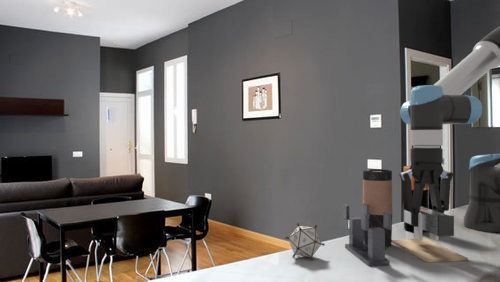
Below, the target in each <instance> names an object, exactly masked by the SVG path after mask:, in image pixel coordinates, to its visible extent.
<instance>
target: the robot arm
mask: <svg viewBox="0 0 500 282" xmlns="http://www.w3.org/2000/svg"><path fill="white" fill-rule="evenodd" d="M499 67H500V26H497V28H496V27H495V28H494V29H493V30H492V31H490V32H489V33H488V34H486V35H485V36H484V37H482V39H480V40H479V41H478V42H477V43H476V44H475V45H474V47H473V48H472V51H471V53H469V54H468V55H467V56H466V57H465V58H463V59H461V61H460V62H459V63H458V64H456V65H455V66H454V67H453V68H452V69H451V70H449V71H448V72H447V73H446V74H445V75H444V76H442V77H441V78H440V79H438V81H436V82H435V83H434V84H429V85H428V84H427V85H417V86H415V87H413V88H412V89H411V91H410V100H408V101H406V102H404V103H403V104H402V106H401V107H400V111H399V112H400V118H401V120H402V121H403V123H405V124H407V125H408V126H410V146H412V147H411V148H410V153H409V155H410V165H409V166H410V168H409V170H408V171H406V172H404V171H403V172H400V173H399V178H400V179H401V182H402V183H401V185H402V186H401V187H402V188H401V189H402V203H403V204H402V208H403V207H404V210H406V211H409V212H410V213H411V224H412V226H414V231H413V239H417V240H420V241H421V240H422V239H423V232H422V214H419V212H420V207H421V201H422V195H423V190H424V188H425V185H426V184H427V185H428V187H429V197H430V202H431V208H432V209H431V210H434V211H437V212H440V213H443V214H445V212H447V211H448V212H449V211H450V200H451V199H450V198H451V182H452V179H453V177H454V172H451V171H448V170H445V169H444V167H443V165H442V163H443V159H444V157H443V156H444V155H443V151H444V150H443V148H442V146H443V145H444V139H443V138H444V135H443V134H444V132H443V131H444V129H443V128H444V127H443V126H444V125H467V124H468V125H469V124H470V125H471V124H474V123H476V122H477V121H479V119H480V118H481V116H482V114H483V104H482V102H481V100H480V99H479V98H478V97H476V96H474V95H467V94H464V93H465V92H466V91H468V89H469V88H471V87H473V85H474V84H476V82H478V81H479V79H481V78H482V77H483V76H484V75H485V74H487V73H488V72H489V71H490V70H491V69H496V68H499ZM463 94H464V95H463ZM468 170H469V171H468V175H469V176H468V177H469V178H468V179H469V181H468V182H469V185H468V186H469V202H468V205H467V208H466V210H465V214H464V216H463V226H465V227H467V228H469V229H473V230H477V231H484V232H492V233H500V153H491V154H490V153H489V154H479V155H475V156H472V157H471V158H470V159H469V168H468ZM411 175H412V176H413V177H414V191H413V197H412V184H411V178H412V177H411ZM439 178H440V181H439ZM429 238H431V239H433V240H435V241H439V239H440V236H437V235H435V234H432V233H430V232H429Z"/></svg>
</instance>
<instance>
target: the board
mask: <svg viewBox="0 0 500 282" xmlns="http://www.w3.org/2000/svg"><path fill="white" fill-rule="evenodd" d="M391 244H394V245H396V246H398V247H399V248H401V249H402V250H404V251H407V252H408V253H411V255H413V256H416V257H417V258H419V259H421V260H423V261H424V262H426V263H444V262H445V263H446V262H461V261H462V262H463V261H464V262H466V261H469V257H467V256H464V255H463V254H461V253H458V252H456V251H454V250H451V249H449V248H447V247H445V246H443V245H441V244H438V243H436V242H434V241H432V240H429V239H427V238H422V240H421V241H420V240H417V239H415V238H409V239H408V238H407V239H406V238H403V239H401V238H400V239H392V241H391Z"/></svg>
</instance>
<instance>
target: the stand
mask: <svg viewBox="0 0 500 282" xmlns="http://www.w3.org/2000/svg"><path fill="white" fill-rule="evenodd" d="M360 213H361V214H360V216H355V217H353V216H351V217H350V205H348V204H346V203H344V204H343V205H342V214H343V215H342V218H343V219H345V220H347V221H348V243H344V248H345V249H346V250H347V251H349V252H350V253H351V254H353V255H354V256H355V257H356V258H358V259H359V260H360V261H362V262H363V263H364V264H365V265H366V266H368V267H377V266H380V267H381V266H390V265H391V263H390V262H391V261H390V260H389V259H388V258H386V247H385V230H384V229H382V228H380V227H379V228H369V219H370V205H368V204H363V203H362V212H360ZM383 227H384V228H386V229H388V230H393V224H392V225H391V214H390V213H387V212H383ZM364 230H365V231H367V230H368V246H367V245H365V244H364Z"/></svg>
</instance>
